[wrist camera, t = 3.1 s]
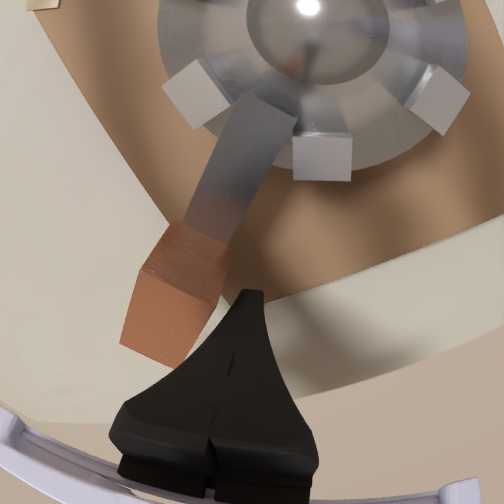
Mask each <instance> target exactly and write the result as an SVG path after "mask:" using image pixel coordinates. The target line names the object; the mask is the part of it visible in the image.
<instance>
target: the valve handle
mask: <svg viewBox="0 0 504 504" xmlns="http://www.w3.org/2000/svg"><path fill="white" fill-rule="evenodd" d="M157 34H158V43H159V48H160V54H161V58H162V61H163V64H164V67H165V70H166V73H167V75H168V77H169V79H170V80H168V81H167V82H166V83H165V84H163V85H162V86H161V87H162V89H163V90H164V91H165V93H166V94H167V95H168V97H169V98H170V99H171V101H172V102H173V103H174V105H175V106H176V107H177V109H178V110H179V111H180V113H181V114H182V115H183V117H184V118H185V119H186V121H187V122H188V123H189V125H190V126H191V127H192V129H193V130H196V129H197V128H199V127H200V126H202V125H203V126H205V127H206V128H207V129H208V130H209V131H210V132H211V133H212V134H214V135H215V136H216V137H218V138H219V139H218V141H217V143H216V146H215V148H214V150H213V152H212V154H211V156H210V158H209V161H208V163H207V165H206V167H205V169H204V172H203V174H202V176H201V178H200V181H199V183H198V185H197V188H196V190H195V192H194V194H193V197H192V199H191V201H190V204H189V206H188V208H187V211H186V213H185V216H184V218H183V220H182V223H181V222H179V221H177V220H175V219H174V220H173V221H172V223H171V224H170V225H169V227H168V228H167V230H166V231H165V233H164V234H163V236H162V237H161V239H160V240H159V242H158V243H157V245H156V246H155V248H154V249H153V251H152V252H151V254H150V255H149V257H148V258H147V260H146V261H145V263H144V264H143V266H142V267H141V269H140V271H139V274H138V277H137V280H136V284H135V287H134V290H133V294H132V297H131V301H130V304H129V308H128V312H127V315H126V319H125V323H124V326H123V330H122V334H121V338H120V342H119V343H120V344H122V345H124V346H126V347H128V348H130V349H132V350H134V351H136V352H138V353H140V354H142V355H144V356H146V357H149V358H151V359H153V360H155V361H157V362H159V363H162V364H164V365H166V366H168V367H171V368H173V369H175V368H177V367H178V366H179V365H180V364H181V363H182V362H183V361H184V359H185V358H186V356H187V354H188V353H189V351H190V350H191V348H192V346H193V345H194V343H195V341H196V340H197V338H198V336H199V335H200V333H201V331H202V330H203V328H204V326H205V325H206V323H207V322H208V320H209V318H210V317H211V315H212V313H213V312H214V310H215V308H216V306H217V303H218V300H219V297H220V294H221V291H222V287H223V284H224V281H225V278H226V275H227V272H228V269H229V266H230V263H231V260H232V256H233V253H234V250H235V249H234V248H232V247H230V246H228V243H229V241H230V239H231V237H232V236H233V234H234V232H235V230H236V228H237V227H238V225H239V223H240V221H241V219H242V217H243V216H244V214H245V212H246V210H247V208H248V207H249V205H250V203H251V201H252V199H253V198H254V196H255V194H256V192H257V191H258V189H259V187H260V185H261V183H262V182H263V180H264V178H265V176H266V175H267V173H268V171H269V169H270V167H271V166H272V165H275V166H278V167H281V168H286V169H291V170H293V180H322V181H351V171H352V170H359V169H363V168H366V167H370V166H374V165H377V164H380V163H382V162H385V161H387V160H390V159H392V158H395V157H396V156H398V155H400V154H402V153H404V152H405V151H407V150H409V149H411V148H412V147H413V146H415V145H416V144H417V143H419V142H420V141H421V140H423V139H424V138H425V137H426V136H427V135H428V134H429V133H430V132H431V131H432V130H435V131H436V132H437V133H439V134H440V135H442V136H444V134H445V133H446V131H447V130H448V128H449V127H450V125H451V124H452V122H453V121H454V119H455V118H456V116H457V115H458V113H459V112H460V110H461V108H462V107H463V105H464V104H465V102H466V100H467V99H468V97H469V96H470V94H471V93H470V92H469V91H468V90H467V89H466V88H465V87H463V86H462V85H461V83H462V80H463V77H464V72H465V67H466V62H467V46H468V42H467V30H466V23H465V19H464V15H463V10H462V7H461V4H460V1H459V0H160V1H159V8H158V17H157Z"/></svg>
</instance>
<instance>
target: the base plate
mask: <svg viewBox="0 0 504 504" xmlns="http://www.w3.org/2000/svg"><path fill="white" fill-rule="evenodd" d="M159 1H160V0H28V2H27V6H26V11H31V10H33V11H34V13H35V15H36V17H37V18H38V20H39V22H40V24H41V25H42V27H43V29H44V31H45V33H46V34H47V36H48V38H49V39H50V41H51V43H52V45H53V46H54V48H55V50H56V51H57V53H58V55H59V57H60V58H61V60H62V62H63V63H64V65H65V67H66V68H67V70H68V71H69V73H70V75H71V76H72V78H73V80H74V81H75V83H76V85H77V86H78V88H79V89H80V91H81V93H82V94H83V96H84V97H85V99H86V101H87V102H88V104H89V105H90V107H91V109H92V110H93V112H94V113H95V115H96V116H97V118H98V119H99V121H100V123H101V124H102V126H103V127H104V129H105V130H106V132H107V133H108V135H109V136H110V138H111V139H112V141H113V142H114V144H115V145H116V147H117V149H118V150H119V152H120V153H121V155H122V156H123V157H124V159H125V160H126V162H127V163H128V165H129V166H130V168H131V169H132V171H133V172H134V174H135V175H136V177H137V178H138V180H139V181H140V183H141V184H142V185H143V187H144V188H145V190H146V191H147V193H148V194H149V196H150V197H151V198H152V200H153V201H154V203H155V204H156V206H157V207H158V208H159V210H160V211H161V213H162V214H163V215H164V217H165V218H166V220H167V221H168V222H169V224H171V223H172V221H173V220H174V219H175V220H177V221H179V222H181V223H182V220H183V218H184V216H185V213H186V211H187V208H188V206H189V204H190V201H191V199H192V197H193V194H194V192H195V190H196V188H197V185H198V183H199V181H200V178H201V176H202V174H203V172H204V169H205V167H206V165H207V163H208V161H209V158H210V156H211V154H212V152H213V150H214V148H215V146H216V143H217V141H218V139H219V138H218V137H216V136H215V135H214V134H212V133H211V132H210V131H209V130H208V129H207V128H206V127H205V126H203V125H202V126H200V127H199V128H197V129H196V130H193V129H192V127H191V126H190V125H189V123H188V122H187V121H186V119H185V118H184V117H183V115H182V114H181V113H180V111H179V110H178V109H177V107H176V106H175V105H174V103H173V102H172V101H171V99H170V98H169V97H168V95H167V94H166V93H165V91H164V90H163V89H162V87H161V86H162V85H163V84H165V83H166V82H167V81H168V80H170V79H169V77H168V75H167V73H166V70H165V67H164V64H163V61H162V58H161V54H160V48H159V43H158V34H157V17H158V8H159ZM459 1H460V4H461V7H462V10H463V15H464V19H465V23H466V30H467V42H468V46H467V62H466V67H465V72H464V77H463V80H462V83H461V85H462V86H463V87H465V88H466V89H467V90H468V91H469V92H470V93H471V94H470V96H469V97H468V99H467V100H466V102H465V104H464V105H463V107H462V108H461V110H460V112H459V113H458V115H457V116H456V118H455V119H454V121H453V122H452V124H451V125H450V127H449V128H448V130H447V131H446V133H445V134H444V136H442V135H440V134H439V133H437V132H436V131H435V130H432V131H431V132H430V133H429V134H428V135H427V136H426V137H425V138H424V139H423V140H421V141H420V142H419V143H417V144H416V145H415V146H413V147H412V148H411V149H409V150H407V151H405V152H404V153H402V154H400V155H398V156H396V157H395V158H392V159H390V160H387V161H385V162H382V163H380V164H377V165H374V166H370V167H366V168H363V169H359V170H352V171H351V181H322V180H293V170H291V169H286V168H281V167H278V166H275V165H272V166H271V167H270V169H269V171H268V173H267V175H266V176H265V178H264V180H263V182H262V183H261V185H260V187H259V189H258V191H257V192H256V194H255V196H254V198H253V199H252V201H251V203H250V205H249V207H248V208H247V210H246V212H245V214H244V216H243V217H242V219H241V221H240V223H239V225H238V227H237V228H236V230H235V232H234V234H233V236H232V237H231V239H230V241H229V243H228V246H230V247H232V248H234V249H235V250H234V253H233V256H232V260H231V263H230V266H229V269H228V272H227V275H226V278H225V281H224V284H223V287H222V291H221V294H222V296H223V297H224V298H225V300H226V301H227V302H228V303H229V305H230V306H232V305H233V303H234V301H235V300H236V298H237V296H238V294H239V293H240V291H241V290H242V289H254V290H262V291H263V292H264V303H267V302H270V301H273V300H276V299H279V298H282V297H285V296H288V295H291V294H295V293H298V292H300V291H303V290H306V289H309V288H312V287H315V286H318V285H321V284H324V283H327V282H330V281H333V280H335V279H338V278H341V277H344V276H347V275H350V274H352V273H355V272H358V271H361V270H364V269H366V268H369V267H372V266H374V265H377V264H380V263H383V262H385V261H388V260H391V259H393V258H396V257H398V256H401V255H404V254H406V253H409V252H412V251H414V250H417V249H419V248H422V247H424V246H427V245H429V244H432V243H434V242H437V241H439V240H442V239H444V238H447V237H449V236H452V235H454V234H457V233H459V232H462V231H464V230H466V229H469V228H471V227H473V226H476V225H478V224H481V223H483V222H485V221H488V220H490V219H492V218H495V217H497V216H499V215H501V214H504V47H503V44H502V41H501V38H500V36H499V33H498V31H497V28H496V25H495V23H494V21H493V18H492V16H491V14H490V11H489V9H488V7H487V5H486V2H485V0H459Z"/></svg>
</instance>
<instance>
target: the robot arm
mask: <svg viewBox="0 0 504 504" xmlns="http://www.w3.org/2000/svg"><path fill="white" fill-rule="evenodd" d="M109 438H110V440H111V441H112V443H113V444H114V445H115V446H116V447H117V449H119V451H120V452H121V453H122V454H123V456H122V459H121V461H120V464H119V465H117V464H115V463H112V462H109V461H106V460H103V459H101V458H98V457H96V456H93V455H90V454H88V453H85V452H83V451H80V450H78V449H76V448H73V447H71V446H69V445H66V444H64V443H62V442H60V441H58V440H56V439H53V438H51V437H49V436H47V435H45V434H43V433H41V432H39V431H37V430H35V429H33V428H31V427H29V426H27V425H26V424H25V423H24V422H23V421H22V420H21V419H20V418H19V417H18V416H17V415H15V414H14V413H12V412H11V411H9V410H7V409H5V408H4V407H2V406H0V466H1V467H3V468H4V469H5V470H7V471H8V472H10V473H11V474H13V475H15V476H16V477H18V478H19V479H21V480H22V481H24V482H26V483H27V484H29V485H31V486H32V487H34V488H36V489H37V490H39V491H41V492H43V493H45V494H46V495H48V496H50V497H52V498H54V499H56V500H57V501H59V502H61V503H63V504H162V503H158V502H155V501H150V500H147V499H143V498H140V497H138V496H136V495H135V494H133V493H132V492H131V490H130V489H127V488H125V487H123V486H126V487H129V488H132V489H135V490H138V491H141V492H145V493H148V494H151V495H155V496H158V497H162V498H165V499H169V500H174V501H177V502H181V503H186V504H481V496H480V487H479V480H478V477H473V478H469V479H465V480H460V481H456V482H453V483H449V484H447V485H445V486H443V487H441V488H440V489H439V490H435V491H430V492H424V493H417V494H410V495H403V496H394V497H382V498H369V499H349V500H309V499H310V498H309V497H310V488H311V487H312V478H313V477H312V476H313V474H314V473H315V471H316V469H317V468H318V466H319V457H318V451H317V448H316V444H315V440H314V438H313V434H312V431H311V429H310V428H309V426H308V425H307V423H306V422H305V420H304V418H303V417H302V415H301V414H300V412H299V410H298V408H297V407H296V405H295V403H294V401H293V399H292V397H291V395H290V393H289V391H288V389H287V387H286V385H285V383H284V381H283V378H282V376H281V373H280V371H279V368H278V366H277V363H276V360H275V357H274V354H273V351H272V348H271V344H270V341H269V337H268V332H267V328H266V323H265V316H264V292H263V291H262V290H254V289H242V290H241V291H240V293H239V294H238V296H237V298H236V300H235V301H234V303H233V305H232V306H231V308H230V309H229V311H228V312H227V313H226V315H225V316H224V317H223V319H222V320H221V321H220V323H219V324H218V325H217V327H216V328H215V329H214V330H213V332H212V333H211V334H210V335H209V336H208V337H207V339H206V340H205V341H204V342H203V343H202V344H201V345H200V346H199V347H198V348H197V349H196V350H195V351H194V352H193V353H192V354H191V355H190V356H189V357H188V358H187V359H186V360H185V361H184V362H182V363H181V364H180V365H179V366H178V367H177V368H175V369H174V370H173V371H172V372H170V373H169V374H168V375H166V376H165V377H164V378H162V379H161V380H159V381H158V382H157V383H155V384H154V385H152V386H151V387H149V388H148V389H146V390H144V391H143V392H141V393H139V394H138V395H136V396H134V397H132V398H131V399H129V400H127V401H125V402H124V403H123V405H122V407H121V408H120V410H119V412H118V413H117V415H116V417H115V419H114V422H113V425H112V427H111V429H110V432H109ZM111 481H112V482H111ZM116 483H117V484H116ZM118 484H120V485H123V486H120V485H118Z"/></svg>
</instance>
